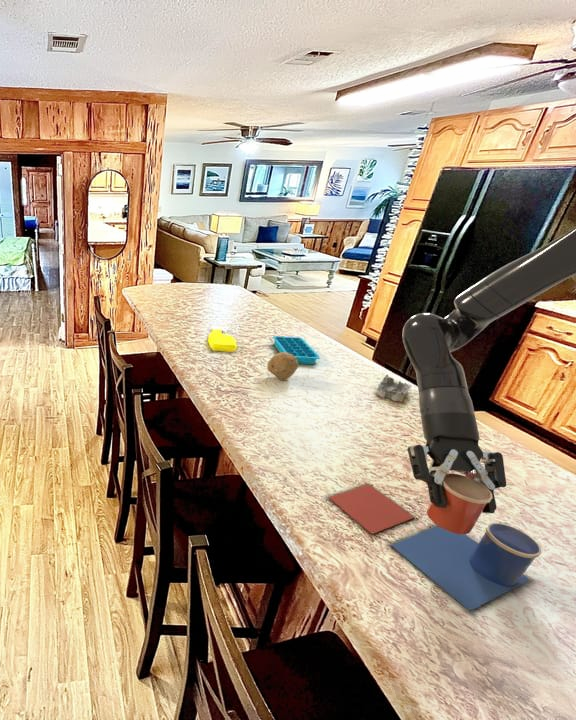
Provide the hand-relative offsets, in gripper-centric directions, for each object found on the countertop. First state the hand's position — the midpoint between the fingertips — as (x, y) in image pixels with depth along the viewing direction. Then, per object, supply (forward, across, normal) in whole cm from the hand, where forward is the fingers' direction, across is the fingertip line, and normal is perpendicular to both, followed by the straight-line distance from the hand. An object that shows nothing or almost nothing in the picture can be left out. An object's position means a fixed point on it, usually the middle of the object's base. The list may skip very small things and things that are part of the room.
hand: (463, 509), depth 66 cm
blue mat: (+9, +2, +7) cm, 12 cm away
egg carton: (-36, +22, +53) cm, 68 cm away
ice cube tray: (-56, -1, +72) cm, 91 cm away
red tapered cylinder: (+2, 0, +4) cm, 5 cm away
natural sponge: (-39, -12, +56) cm, 69 cm away
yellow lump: (-62, -28, +79) cm, 104 cm away
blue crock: (+9, +8, +7) cm, 14 cm away
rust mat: (+1, -7, +15) cm, 17 cm away
